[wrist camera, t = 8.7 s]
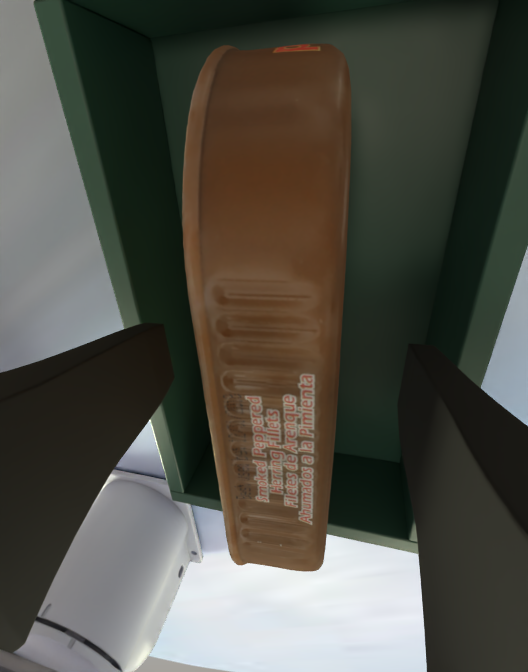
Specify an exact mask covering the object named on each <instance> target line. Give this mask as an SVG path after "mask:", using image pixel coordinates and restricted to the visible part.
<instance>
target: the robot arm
mask: <svg viewBox="0 0 528 672" xmlns="http://www.w3.org/2000/svg"><path fill="white" fill-rule="evenodd" d="M174 378H175V376H174V371H173V366H172V362H171V357H170V352H169V347H168V343H167V338H166V333H165V329H164V324H159V323H147V322H146V323H142V324H138V325H135V326H132V327H129V328H126V329H123V330H121V331H118V332H115V333H113V334H110V335H107V336H105V337H102V338H100V339H97V340H95V341H92V342H90V343H87V344H84V345H82V346H79V347H77V348H74V349H71V350H68V351H66V352H63V353H60V354H57V355H55V356H52V357H49V358H46V359H44V360H41V361H38V362H35V363H32V364H29V365H26V366H22V367H19V368H16V369H12V370H9V371H5V372H2V373H0V672H134V671H135V670H136V669H137V668H138V667H139V666H140V665H141V664H142V663H143V662H144V661H145V660H146V658H147V657H148V656H149V654H150V653H151V651H152V650H153V648H154V646H155V644H156V642H157V640H158V638H159V635H160V633H161V630H162V628H163V625H164V623H165V621H166V618H167V616H168V613H169V611H170V608H171V606H172V604H173V601H174V599H175V596H176V594H177V591H178V589H179V587H180V584H181V582H182V579H183V577H184V575H185V572H186V570H187V567H188V565H189V562H190V561H192V562H196V563H201V562H202V559H203V554H202V550H201V546H200V541H199V537H198V533H197V529H196V525H195V521H194V516H193V512H192V508H191V504H186V503H182V502H177V501H173V500H172V497H171V494H170V489H169V486H168V483H167V480H164V479H159V478H154V477H149V476H144V475H139V474H134V473H129V472H124V471H119V470H114V468H115V467H116V465H117V464H118V462H119V461H120V459H121V458H122V457H123V455H124V454H125V452H126V451H127V450H128V448H129V447H130V446H131V444H132V443H133V442H134V440H135V439H136V437H137V436H138V435H139V433H140V432H141V431H142V429H143V428H144V427H145V425H146V424H147V423H148V421H149V420H150V418H151V417H152V416H153V414H154V413H155V411H156V410H157V409H158V407H159V406H160V404H161V403H162V401H163V399H164V397H165V396H166V394H167V392H168V390H169V388H170V386H171V384H172V382H173V380H174ZM397 407H398V427H399V439H400V445H401V450H402V455H403V461H404V466H405V471H406V477H407V482H408V487H409V492H410V498H411V503H412V508H413V513H414V519H415V526H416V533H417V542H418V554H419V565H420V576H421V589H422V602H423V616H424V629H425V645H426V662H427V672H528V426H527V425H525V424H524V423H523V422H521V421H520V420H519V419H517V418H516V417H515V416H514V415H512V414H511V413H510V412H509V411H507V410H506V409H505V408H503V407H502V406H501V405H500V404H498V403H497V402H496V401H495V400H494V399H492V398H491V397H490V396H489V395H488V394H486V393H485V392H484V391H483V390H482V389H481V388H480V387H478V386H477V385H476V384H475V383H474V382H473V381H472V380H471V379H470V378H468V377H467V376H466V375H465V374H464V373H463V372H462V371H461V370H460V369H459V368H458V367H457V366H456V365H454V364H453V363H452V362H451V361H450V360H449V359H448V358H447V357H446V356H445V355H444V354H443V353H442V352H441V351H440V350H438V349H437V348H436V347H435V346H433V345H421V344H408V350H407V355H406V360H405V366H404V371H403V376H402V382H401V387H400V393H399V398H398V403H397Z"/></svg>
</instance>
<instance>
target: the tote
mask: <svg viewBox="0 0 528 672" xmlns="http://www.w3.org/2000/svg"><path fill="white" fill-rule="evenodd" d="M34 7H35V11H36V14H37V18H38V22H39V25H40V29H41V32H42V36H43V39H44V43H45V47H46V50H47V54H48V57H49V61H50V64H51V68H52V72H53V75H54V79H55V82H56V86H57V90H58V93H59V97H60V100H61V104H62V107H63V111H64V115H65V118H66V122H67V125H68V129H69V132H70V136H71V140H72V143H73V147H74V150H75V154H76V157H77V161H78V165H79V168H80V172H81V175H82V179H83V183H84V186H85V190H86V193H87V197H88V200H89V204H90V208H91V211H92V215H93V218H94V222H95V225H96V229H97V233H98V236H99V240H100V243H101V247H102V250H103V254H104V258H105V261H106V265H107V268H108V272H109V275H110V279H111V283H112V286H113V290H114V293H115V297H116V301H117V304H118V308H119V311H120V315H121V318H122V322H123V326H124V329H126V328H129V327H132V326H135V325H138V324H142V323H146V322H147V323H159V324H164V329H165V333H166V338H167V343H168V347H169V352H170V357H171V362H172V366H173V371H174V376H175V378H174V380H173V382H172V384H171V386H170V388H169V390H168V392H167V394H166V396H165V397H164V399H163V401H162V403H161V404H160V406H159V407H158V409H157V410H156V411H155V413H154V414H153V416H152V417H151V418H150V422H151V426H152V429H153V433H154V436H155V440H156V444H157V447H158V451H159V454H160V458H161V461H162V465H163V469H164V472H165V476H166V479H167V483H168V486H169V489H170V494H171V497H172V500H173V501H177V502H182V503H186V504H191V505H196V506H200V507H205V508H209V509H214V510H219V511H223V510H222V505H221V498H220V491H219V483H218V478H217V473H216V465H215V458H214V452H213V445H212V439H211V434H210V428H209V420H208V416H207V410H206V403H205V398H204V390H203V383H202V377H201V371H200V365H199V359H198V353H197V347H196V341H195V334H194V328H193V323H192V316H191V309H190V303H189V297H188V289H187V279H186V272H185V259H184V248H183V226H182V218H183V216H182V205H183V200H182V194H183V167H184V152H185V143H186V132H187V125H188V116H189V111H190V106H191V100H192V95H193V91H194V89H195V86H196V83H197V80H198V76H199V74H200V71H201V69H202V67H203V66H204V64H205V62H206V59H207V57H208V56H209V55H210V54H211V53H212V52H213V51H214V50H215V49H217V48H218V47H221V46H223V45H229V46H233V47H236V48H237V49H239V50H256V49H265V48H274V47H283V46H293V45H302V44H331V45H333V46H335V47H336V48H337V49H338V50H340V51H341V52H342V53H343V54H344V56H345V58H346V61H347V64H348V67H349V72H350V84H351V162H350V186H349V208H348V231H347V252H346V269H345V286H344V302H343V317H342V332H341V349H340V370H339V386H338V401H337V415H336V431H335V444H334V457H333V468H332V478H331V489H330V500H329V511H328V523H327V534H329V535H334V536H338V537H343V538H348V539H352V540H357V541H361V542H366V543H371V544H375V545H380V546H385V547H389V548H394V549H398V550H403V551H408V552H412V553H417V554H418V542H417V533H416V526H415V519H414V513H413V508H412V503H411V498H410V492H409V487H408V482H407V477H406V471H405V466H404V461H403V455H402V450H401V445H400V439H399V427H398V407H397V403H398V398H399V393H400V387H401V382H402V376H403V371H404V366H405V360H406V355H407V350H408V344H421V345H433V346H435V347H436V348H437V349H438V350H440V351H441V352H442V353H443V354H444V355H445V356H446V357H447V358H448V359H449V360H450V361H451V362H452V363H453V364H454V365H456V366H457V367H458V368H459V369H460V370H461V371H462V372H463V373H464V374H465V375H466V376H467V377H468V378H470V379H471V380H472V381H473V382H474V383H475V384H476V385H477V386H478V387H480V388H481V385H482V382H483V379H484V376H485V373H486V370H487V367H488V364H489V361H490V358H491V355H492V351H493V348H494V345H495V342H496V339H497V336H498V333H499V330H500V327H501V324H502V321H503V318H504V315H505V312H506V309H507V306H508V303H509V300H510V297H511V294H512V291H513V288H514V285H515V282H516V279H517V276H518V273H519V270H520V267H521V264H522V261H523V258H524V255H525V252H526V249H527V246H528V0H36V1H34Z"/></svg>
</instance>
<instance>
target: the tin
mask: <svg viewBox="0 0 528 672" xmlns="http://www.w3.org/2000/svg"><path fill="white" fill-rule="evenodd" d="M350 162H351V84H350V72H349V67H348V64H347V61H346V58H345V56H344V54H343V53H342V52H341V51H340V50H338V49H337V48H336V47H335V46H333V45H331V44H302V45H293V46H283V47H274V48H265V49H256V50H239V49H237V48H236V47H233V46H229V45H223V46H221V47H218V48H217V49H215V50H214V51H213V52H212V53H211V54H210V55H209V56H208V57H207V59H206V62H205V64H204V66H203V67H202V69H201V71H200V74H199V76H198V80H197V83H196V86H195V89H194V91H193V95H192V100H191V106H190V111H189V116H188V125H187V132H186V143H185V152H184V167H183V194H182V200H183V205H182V216H183V218H182V226H183V248H184V259H185V272H186V279H187V289H188V297H189V303H190V309H191V316H192V323H193V328H194V334H195V341H196V347H197V353H198V359H199V365H200V371H201V377H202V383H203V390H204V398H205V403H206V410H207V416H208V420H209V428H210V434H211V439H212V445H213V452H214V458H215V465H216V473H217V478H218V483H219V491H220V498H221V505H222V510H223V516H224V523H225V530H226V538H227V543H228V548H229V552H230V555H231V558H232V560H233V561H234V562H235V563H236V564H237V565H244V564H246V563H253V564H260V565H266V566H272V567H278V568H283V569H289V570H296V571H316V570H318V569H319V568H320V567H321V566H322V564H323V560H324V552H325V545H326V534H327V523H328V511H329V500H330V489H331V478H332V468H333V457H334V444H335V431H336V415H337V401H338V386H339V370H340V349H341V332H342V317H343V302H344V286H345V269H346V252H347V231H348V208H349V186H350Z"/></svg>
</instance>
